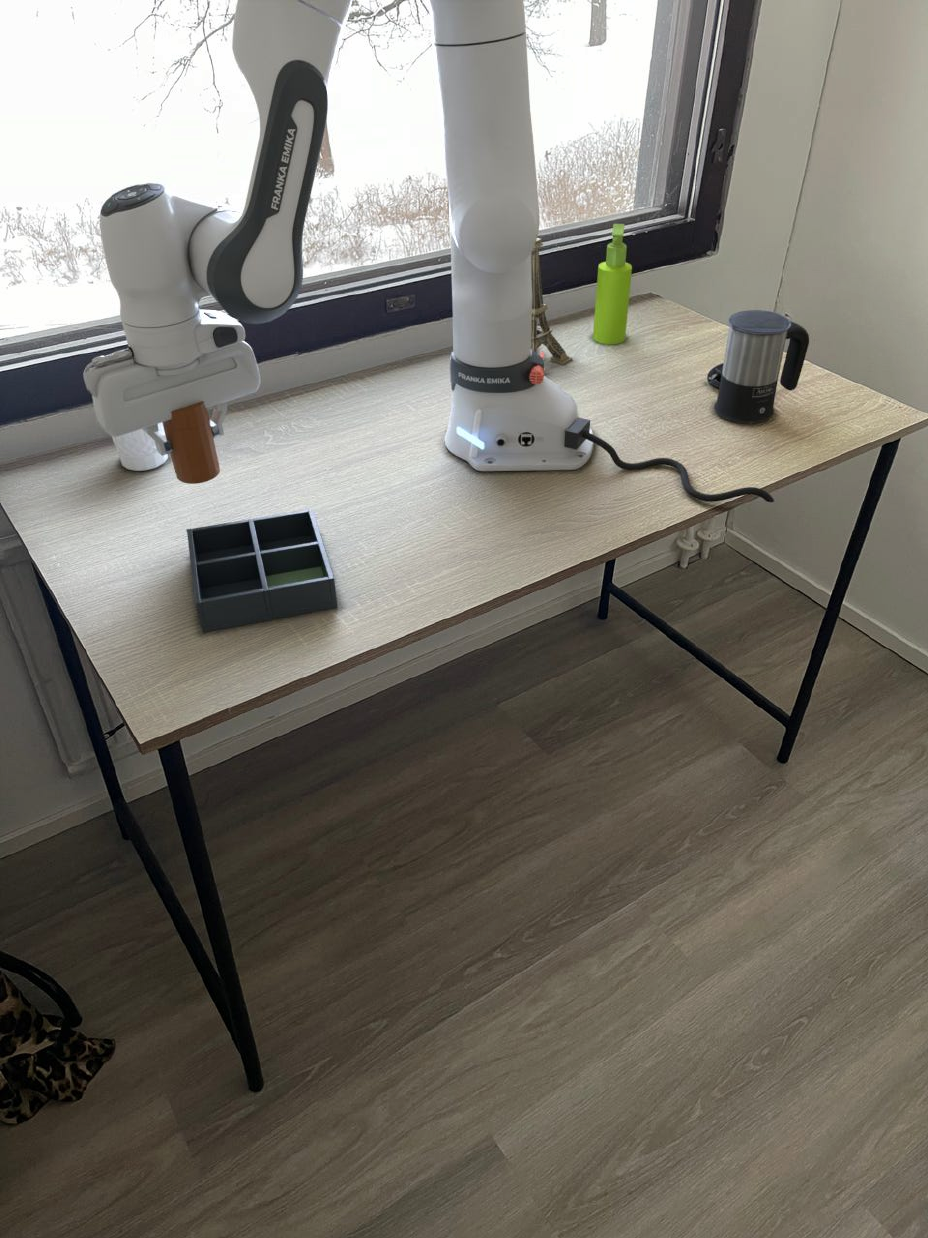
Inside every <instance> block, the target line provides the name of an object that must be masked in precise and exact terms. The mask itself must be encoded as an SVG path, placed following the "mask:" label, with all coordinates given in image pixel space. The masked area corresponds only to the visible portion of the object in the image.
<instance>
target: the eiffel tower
mask: <svg viewBox="0 0 928 1238" xmlns="http://www.w3.org/2000/svg"><path fill="white" fill-rule="evenodd" d="M542 240H543V239H542V238H539V237H537V240H536V242H535V245H534V247H533V250H532V252H531V279H532V324H531V349H532V350H534V351H535V352H536V353H537V354H538V355H539V353H538V351H537V350H538V349H539V348H540V347H541V346H542V345H543V346H545V347H546V349H547V350H548V352H549V353H550V354H551V356H550V357H549V358H550V359H549V360H550V361H551V362H553V363H556V364H558V365H559V364H560V365H563V366H564V365H565V364H567V363H569V362H571V361H572V360H573V357H571V356H569V355H567V352H566V351H565V349H564V348H563V346H562V345H561V343H560V342H559V341H558V340H557V339H556V337H554V335H553V334H552V332H553V330H554V329H553V328H550V326H549V324H548V321H547V315H546V311H547V310H548V309H549V308H548V304H547V303H544V295H543V287H542V286H543V285H542V274H541V263H540V262H541V261H540V248H541V247H542V246H544V243H542ZM538 320H539V325H538Z"/></svg>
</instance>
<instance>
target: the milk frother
mask: <svg viewBox="0 0 928 1238" xmlns="http://www.w3.org/2000/svg"><path fill="white" fill-rule="evenodd" d="M728 324H729V327H728V332H727V333H728V334H727V338H726V346H725V350H724V351H725V352H724V358H723V362H722V363H719V364H717V365H715V366H714V367H712V368H711V369H710V370H709V371H708V373H707V376H706V380H707V383H708V385H710V386H711V387H712V388H714V389H715V390H718V393H717V399H716V402H715V403H714V407H713V410H714V411H715V413H716V414H717V415H718V416H719V417H721V418H722V419H725V420H727V421H730V422H734V423H737V424H746V425H747V424H753V425H754V424H758V423H759V424H760V423H763V422H766V421H768V420H770V419H771V418H772V417H773V416H774V412H775V409H774V406H775V399H776V393H777V388H778V382H779V383H780V385H781V386H782V387H783V389H786V390H788V391H794V390H795V389H796V388H797V386H798V383H799V380H800V376H801V374H802V369H803V367H804V363H805V360H806V356H807V352H808V349H809V345H810V335H809V333H808V330H806V329H805V328H804V327H803V326H802V325H800V324H799V323H796V322H794V321H791V320H790V318H788V317H786V316H785V315H783V314H780V313H777V312H775V311H769V310H762V309H760V310H758V309H749V310H748V309H746V310H742V311H737V312H735V313H732V314H731V315H729V317H728ZM787 340H789V341H788V346H787V350H786V354H785V359H784V363H783V366H782V361H783V356H784V350H785V345H786V341H787ZM781 366H782V369H781ZM780 371H781V372H780ZM780 373H781V375H780ZM779 376H780V379H779Z"/></svg>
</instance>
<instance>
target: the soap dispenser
mask: <svg viewBox="0 0 928 1238" xmlns="http://www.w3.org/2000/svg"><path fill="white" fill-rule="evenodd" d="M625 226H626V225H625V223H613V226H612V233H611V237H612V242H609V243H608V244H607V246H606V256H605V261H601V262H600V263H599V264H598V267H597V280H596V293H595V305H594V318H593V331H592V339H593V340H594V341H595V342H597V343H599V344H603V345H617V344H621V343H624V341H625V340H626V332H627V323H628V314H629V313H628V312H629V303H630V291H631V285H632V284H631V283H632V272H633V266H632V264H631V263H628V262H626V260H627V250H628V249H627V248H628V246H627V244H626V243H624V242H623V238H624V235H625V234H624V232H625Z"/></svg>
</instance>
